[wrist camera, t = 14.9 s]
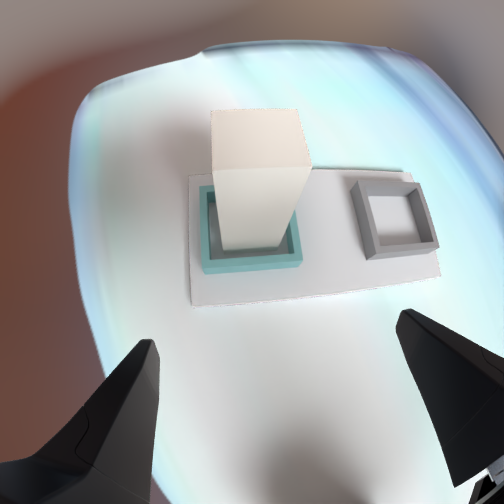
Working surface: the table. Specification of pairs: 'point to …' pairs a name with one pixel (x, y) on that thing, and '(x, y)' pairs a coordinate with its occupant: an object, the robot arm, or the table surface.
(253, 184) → the plug
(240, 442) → the table surface
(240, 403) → the table surface
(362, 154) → the table surface
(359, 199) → the socket board
